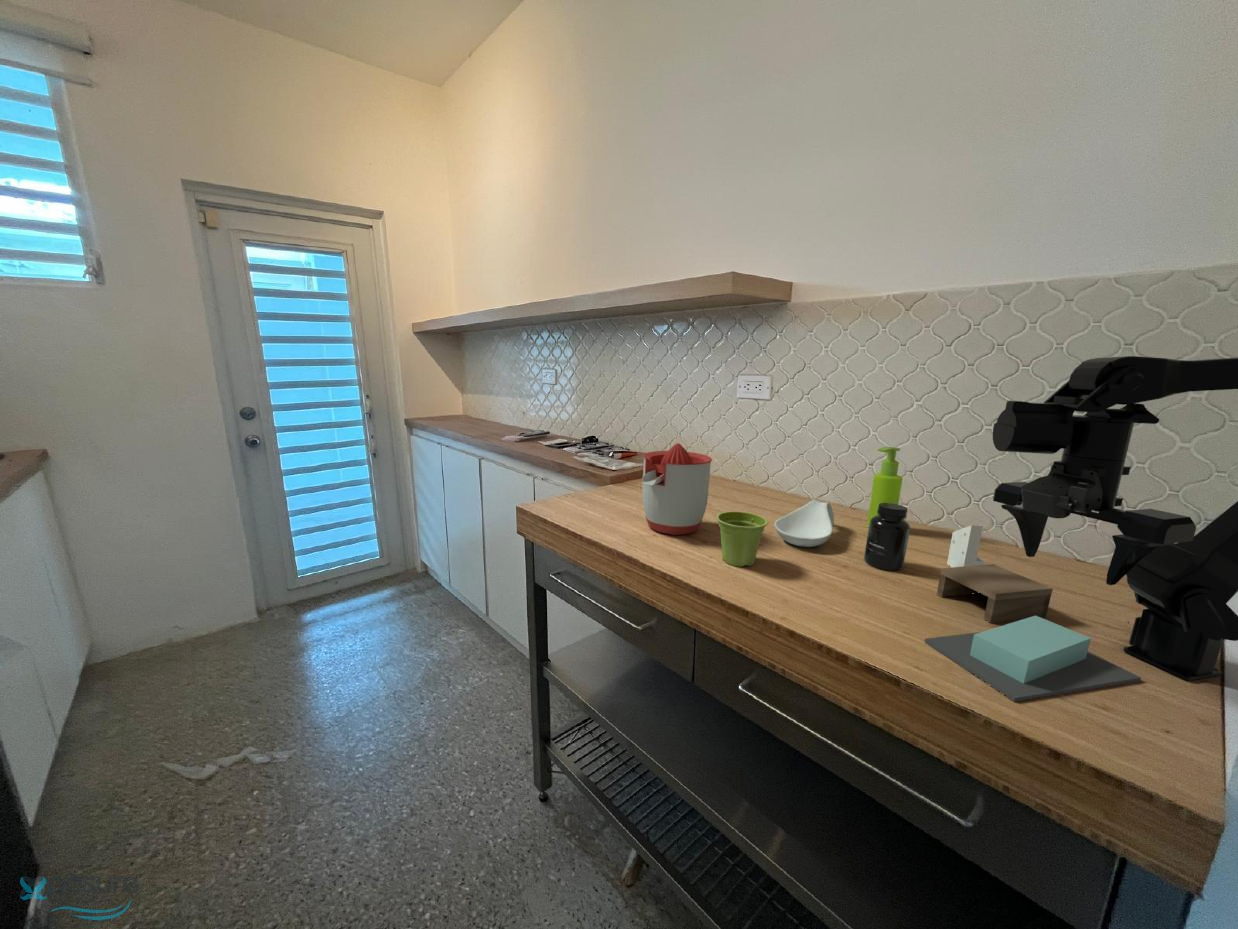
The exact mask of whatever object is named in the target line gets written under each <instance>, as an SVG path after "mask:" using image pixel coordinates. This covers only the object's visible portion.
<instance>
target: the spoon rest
mask: <svg viewBox="0 0 1238 929" xmlns="http://www.w3.org/2000/svg"><path fill="white" fill-rule="evenodd" d="M834 520H835V517H834V511H833V507H832V505H831V503H830V502H822V501H819V500H818V499H812V500H810V501H809V502H808V503H806V504H803V506H801V507H799V508H797V509H795V510H793V511H791V512H789V513H788V514H786V515H783V516H782V517H780V518H778V519H777V520H775V522H774V526H773V527H774V529H775V531H776V533H777V535H778V536H779V537H780V538H781V539H783V541H785V542H787V543H788V544H791V545H794V546H796V547H799V548H800V547H801V548H813V547H817V546H820V545H823V544H824V543H826V542H827V541H828V540H829V539H830V538H831V536H832V535H833V529H834V528H833V525H834V523H835V521H834Z"/></svg>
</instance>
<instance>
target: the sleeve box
mask: <svg viewBox="0 0 1238 929" xmlns="http://www.w3.org/2000/svg"><path fill="white" fill-rule="evenodd" d="M978 592H979V593H981V594H982V595H983V596H985V597H987V602H986V607H985V612H984V616H983V620H984V619H985V620H987V621H988V622H987V621H986V622H987V623H989V622H990V623H989V624H996V623H995V622H997V623H1003V622H1004V623H1006V622H1011V621H1012V622H1013V621H1014V622H1016V621H1019V620H1022V619H1026V618H1029V617H1032V616H1038V617H1040V618H1046V617H1047V614H1048V609H1049V605H1050V601H1051V597H1052V595H1053V594H1052V593H1053V587H1050V586H1047V585H1045V584H1043V583H1041V582H1037V581H1035V580H1033V579H1031V578H1028V577H1025V576H1024V575H1021V574H1018V573H1017V572H1013V571H1011V570H1008V569H1007V568H1004V567H1001V566H1000V565H996V564H994V563H992V564H991V563H990V564H987V565H976V566H964V567H941V570H940V574H939V580H938V585H937V592H936V595H937V594H938V595H939V597H940V596H942V597H941V598H945V597H944V596H951V597H960V596H959V595H961V596H965V595H964V594H971V595H973V594H972V593H978ZM981 594H980V595H981ZM938 595H937V596H938ZM957 595H958V596H957ZM985 620H984V621H985ZM1005 621H1006V622H1005Z"/></svg>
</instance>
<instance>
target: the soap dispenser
mask: <svg viewBox="0 0 1238 929" xmlns="http://www.w3.org/2000/svg"><path fill="white" fill-rule="evenodd" d="M900 450H901V448H900V447H893V446H884V447H880V448H878V449H877V451H878V452H882V453H887V455H886V456H887V457H886V459H883V460H882V461H881V468H880V472H878V473H874V475H873V481H872V488H871V495H870V499H869V500H870V503H869V506H868V507H869V508H868V515H867V522H866V527H867V528H868V527H869V524H870V520H871V519H872V518H873V517H875V516H878V514H877V510H878V507H879V504H880V503H893V504H898V505H900V504H899V502H900V496H901V492H902V491H901V490H902V485H903V479H904V477H902V476H900V475H898V470H899V464H900V462H899V461H897V460H896V454H897V451H898V452H900Z"/></svg>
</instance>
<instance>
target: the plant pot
mask: <svg viewBox="0 0 1238 929" xmlns="http://www.w3.org/2000/svg"><path fill="white" fill-rule="evenodd" d="M716 520H717V522H718V527H719V528H720V530H719V531H720V539H721V540H720V541H721V542H720V543H721V544H720V545H721V557H722V560H724V561H725V563H727V564H728V565H731V566H733V567H734V566H735V567H739V568H741V567H745V566H748V567H750V566H753V565H754V564H755V562H756V557H757V554H758V550H759V545H760V542H761V539H762V538H761V537H762V534H763V532H764V530H765V527H766V526H767V525H768V519H767V518H765V517H763V516H762V515H759V514H757V513H753V512H749V511H748V512H747V511H735V510H734V511H733V510H731V511H725V512H720V513H718V514H717V515H716Z"/></svg>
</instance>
